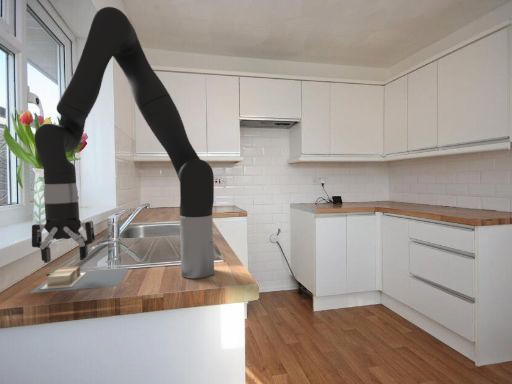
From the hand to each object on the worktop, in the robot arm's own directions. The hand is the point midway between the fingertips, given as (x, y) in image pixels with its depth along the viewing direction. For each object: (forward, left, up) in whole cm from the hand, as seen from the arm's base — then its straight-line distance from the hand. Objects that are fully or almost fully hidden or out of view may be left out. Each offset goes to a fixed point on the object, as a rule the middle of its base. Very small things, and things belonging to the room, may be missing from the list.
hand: (65, 260), depth 79 cm
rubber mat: (-5, 0, -6) cm, 7 cm away
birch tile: (0, 0, -5) cm, 5 cm away
